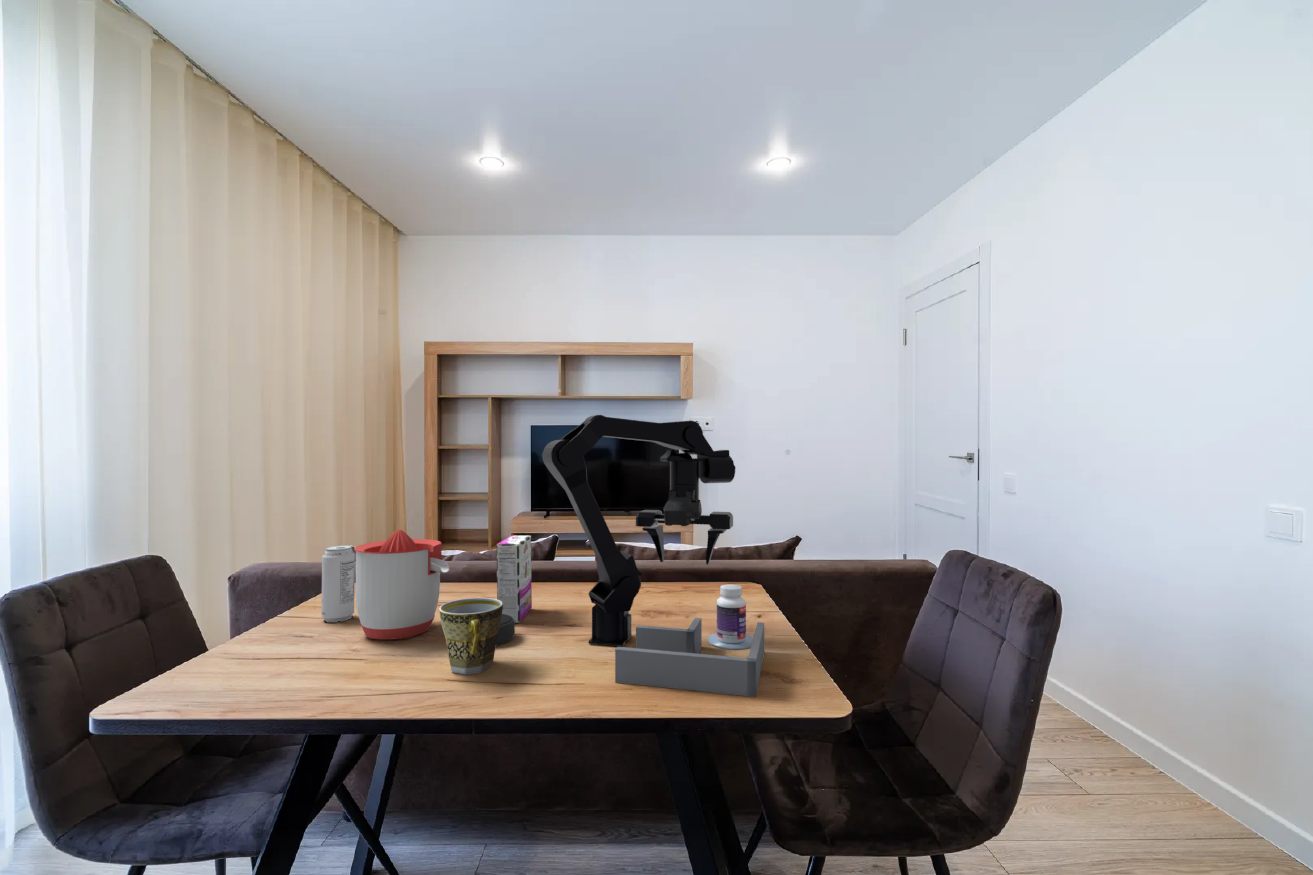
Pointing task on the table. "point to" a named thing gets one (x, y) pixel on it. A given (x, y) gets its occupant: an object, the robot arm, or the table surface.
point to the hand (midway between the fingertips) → (684, 562)
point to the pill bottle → (731, 615)
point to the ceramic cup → (471, 633)
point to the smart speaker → (506, 629)
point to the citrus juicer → (398, 585)
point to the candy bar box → (514, 576)
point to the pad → (734, 646)
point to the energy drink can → (338, 583)
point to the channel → (688, 662)
